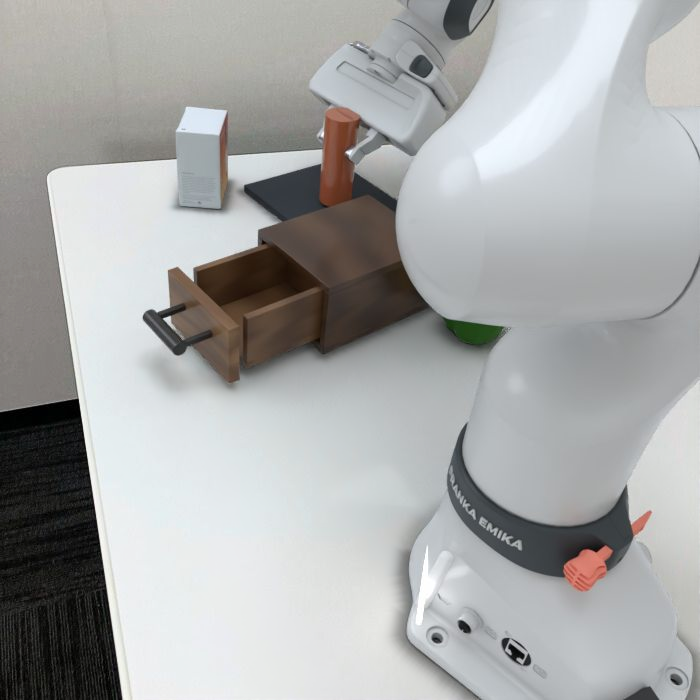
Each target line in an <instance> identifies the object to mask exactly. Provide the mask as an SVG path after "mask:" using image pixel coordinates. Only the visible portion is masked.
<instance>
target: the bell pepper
mask: <svg viewBox="0 0 700 700" xmlns="http://www.w3.org/2000/svg"><path fill="white" fill-rule="evenodd" d="M442 319H443V321H444V323H445V325H446V326H447V328H448V330H449V331H453V332H454V334H455V337H457V338H458V339H459V340H460V341H461V342H464V343H467V344H470V345H474V346H475V345H485V344H487V343H489V342H491V341H493V340H494V339H495V338H497V337H498V336H499V335H500V334H501V333H502V331H503V330H504V328H505V326H494V325H486V324H479V323H472V322H465V321H458V320H451V319H447V318H445V317H443V316H442Z"/></svg>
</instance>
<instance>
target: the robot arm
mask: <svg viewBox="0 0 700 700" xmlns="http://www.w3.org/2000/svg"><path fill="white" fill-rule="evenodd" d="M396 2H397V3H399V4H401V5H402V6H403V8H402V9H401V10H400V12H398V13H397V14H395V15H394V16H393V17H392V18H390V20H389V21H388V23H387V24H386V26H385V27H384V28H383V30H382V31H381V32H380V34H379V35H378V36H377V38H376V39H375V40H374V42H373V43H372V45H370V46H369V45H366V44H365V43H364V42H362V41H360V40H354V42H348V43H345V44H343V45H342V46H341V47H340V48H339V49H338V50H337V51H335V52H334V53H332V55H331V56H330V57H329V58H328V59H327V60H326V61H325V62H324V63H323V64H322V65H321V67H319V68H318V70H317V71H316V72H315V74H313V76H312V77H311V78H310V80H309V85H308V90H309V91H310V93H311V94H312V95H313V96H314V97H315V98H316V99H317V100H318V101H319V102H320V103H322V104H323V105H325V106H326V107H328V108H327V109H326V110H325V112H326V111H327V110H328V109H330V108H334V107H345V108H348V109H350V110H352V111H353V112H355V113H357V114H359V115H360V124H359V127H362V128H363V129H365V130H366V131H367V132H366V133H365V136H366V138H365V139H363V140H362V141H360V142H358V143H357V145H356V146H355V145H354V144H351V145H350V146H349V147H348V150H346V151H345V153H344V156H345V157H346V158H347V159H348V160H349V161H351V162H352V163H354V164H355V166H357V165H359V164H360V163H361V161H362V160H363V159H364V157H365V156H367V155H369V154H371V153H373V152H375V151H377V150H379V149H380V148H381V147H382V146H383V144H384V143H385V142H386V143H388V144H390V145H391V146H393V147H395V148H396V149H398V150H400V151H401V152H403V153H404V154H406V155H408V156H409V157H413V159H412V160H411V162H410V164H409V165H408V168H407V169H406V172H405V174H404V176H403V180H402V183H401V186H400V188H399V191H398V196H397V208H396V236H397V244H398V249H399V252H400V256H401V260H402V263H403V265H404V268H405V270H406V272H407V274H408V276H409V278H410V280H411V282H412V283H413V285H414V286H415V288H416V290H417V291H418V292H419V294H420V295H421V296H422V297H423V299H424V300H425V301H426V302H427V303H428V304H429V305H430V307H431V308H432V309H433V310H434V311H435V312H436V313H437V314H439V315H440V316H441V317H442V318H443V317H445V318H447V319H451V320H458V321H465V322H472V323H479V324H486V325H494V326H504V328H505V327H506V328H510V329H509V330H508V331H507V332H506V333H504V334H503V335H502V337H500V338H499V340H498V341H496V343H495V344H494V346H493V347H492V349H491V350H490V351H489V353H488V355H487V357H486V359H485V361H484V364H483V366H482V369H481V374H480V377H479V382H478V384H477V387H476V392H475V396H474V399H473V403H472V408H471V410H470V413H469V416H468V417H469V418H468V421H467V422H465V424H464V425H463V427H462V428H461V430H460V432H459V434H458V436H457V438H456V439H457V440H456V442H455V446H454V448H453V452H452V455H451V458H450V462H449V465H448V469H447V474H446V490H445V493H444V495H443V498H442V500H441V501H440V503H439V506H438V508H437V509H436V511H435V513H434V515H433V517H432V518H431V519H430V521H429V522H428V523H427V524H426V525H425V527H423V528H422V530H421V531H420V533H419V534H418V535H417V537H416V539H415V541H414V543H413V544H412V548H411V550H410V555H409V561H408V577H409V583H410V584H409V585H410V590H411V595H412V605H411V608H410V611H409V615H408V618H407V623H406V637H407V639H408V641H409V642H410V643H411V644H412V645H413V646H414V647H415V648H416V649H417V650H419V651H420V652H421V653H422V654H424V655H425V656H426V657H428V658H429V659H430V660H431V661H432V662H434V663H435V664H436V665H438V666H439V667H440V668H441V669H443V670H444V671H445V672H446V673H448V674H449V675H450V676H452V677H453V678H454V679H455V680H457V682H458V683H460V684H461V685H463V687H465V688H466V689H467V690H469V691H470V692H472V693H473V694H474V695H475V696H476V697H478V698H479V699H480V700H686V698H687V696H688V694H689V692H690V688H691V685H692V680H693V672H694V662H693V655H692V653H691V652H690V650H689V649H688V647H687V646H686V645H685V644H684V643H683V641H682V640H681V639H680V638H679V637H678V634H677V632H678V628H679V627H678V625H679V622H678V621H679V619H678V610H677V607H676V604H675V602H674V599H672V597H671V595H670V594H669V592H668V590H667V589H666V588H665V586H664V584H663V583H662V582H661V579H660V578H659V576H658V574H657V573H656V572H655V569H654V568H653V566H652V563H653V557H652V554H651V551H650V550H649V548H648V547H647V546H646V544H644V543H643V542H642V541H639V540H637V539H636V538H635V537H636V536H637V535H638V534H639V533H641V532H642V531H643V530H644V528H645V526H646V525H647V523H648V521H649V519H650V518H651V516H652V513H653V511H652V510H647V511H646V512H645V513H644V514H643V515H641V516H639V518H638V519H636V520H635V521H634V522H633V523H631V520H630V504H629V490H628V482H629V480H630V478H631V476H632V474H633V472H634V470H635V469H636V466H637V465H638V463H639V461H640V459H641V457H642V455H643V454H644V452H645V450H646V448H647V446H648V445H649V443H650V442H651V439H652V438H653V436H654V434H655V432H656V431H657V430H658V428H659V427H660V426H661V423H662V422H663V421H664V419H665V418H666V417H667V416H668V415H669V414H670V412H671V411H672V409H674V407H675V406H676V405H677V404H678V403H679V401H680V400H681V399H682V398H683V397H684V396H685V395H686V394H687V393H688V392H689V391H690V390H691V389H692V388H693V387H694V386H695V385H696V384H697V383H698V382H699V381H700V105H675V106H670V105H669V106H654V105H652V102H651V100H650V98H649V96H648V91H647V82H646V76H647V75H646V71H647V60H648V53H649V49H650V48H649V47H650V45H651V44H653V43H654V42H655V41H657V40H658V39H660V38H661V37H663V36H664V35H666V34H667V33H668V32H670V31H671V30H672V29H674V28H675V27H676V26H678V25H679V24H680V23H681V22H682V21H684V20H685V19H686V18H687V17H688V16H689V15H690V14H692V12H693V11H694V9H696V7H697V6H698V5H699V4H700V0H497V15H496V22H495V29H494V33H493V39H492V43H491V46H490V50H489V53H488V56H487V59H486V61H485V64H484V67H483V70H482V72H481V74H480V76H479V78H478V80H477V82H476V84H475V85H474V87H473V89H472V90H471V92H470V94H469V95H468V97H466V100H465V101H464V102H463V103H462V104H461V105H460V106H459V108H458V109H457V110H456V112H454V113H453V114H452V116H451V117H449V119H448V120H447V121H446V117H447V112H449V111H451V110H452V109H454V108H455V106H456V105H457V104H458V102H459V97H458V95H457V93H456V92H455V90H454V88H453V87H452V84H451V83H450V82H449V80H448V79H447V77H446V76H445V74H444V73H443V71H442V70H443V69H444V67H446V64H448V60H449V58H450V55H451V54H452V52H453V51H454V49H455V48H456V47H457V46H459V45H460V44H461V43H462V42H463V41H465V40H466V39H467V38H468V37H469V36H471V35H472V34H473V33H474V32H475V30H477V28H478V26H479V25H480V24H481V23H482V21H483V20H484V19H485V17H486V16H487V14H488V13H489V12H490V10H491V9H492V7H493V5H494V3H495V0H396ZM445 121H446V122H445ZM324 123H325V117H324V119H323V123H322V127H321V129H319V131H318V132H317V134H316V139H317V140H318V141H319V142H320V143H321V144H323V136H324ZM433 639H438V640H439V641H440V643H437V642H434V640H433ZM671 679H672V680H674V681H676V683H677V684H676V683H674V682H673V681H672V680H671Z"/></svg>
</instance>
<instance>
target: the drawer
mask: <svg viewBox="0 0 700 700" xmlns="http://www.w3.org/2000/svg"><path fill="white" fill-rule="evenodd" d="M192 271H193V280H192V279H191V278H190V277H189V276H188V275H187V274H186V272H184V271H183V270H182V269H181V268H180V267H178V266H176V267H173V268H170V269H167V281H168V296H169V307H167V308H165V309H162V310H159V311H156V310H155V309H153V308H152V309H148V310H146V311H145V312H143V314H142V321H143V322H144V323H145V325H146V326H148V328H149V329H150V330H151V331H152V332H153V333H154V334H155V335H156V337H158V339H159V340H160V341H161V342H162V343H163V344H164V345H165V346H166V348H167V349H169V350H170V352H171V353H172V354H173V355H174V356H182V355H183V354H184V353H185V352H186V351H187V349H188V348H189V347H193V348H194V349H195V350H196V351H197V352H198V353H199V354H200V355H201V356H202V357H203V358H204V359H205V360H206V362H207V363H208V364H209V365H210V366H211V367H212V368H213V369H214V370H215V371H216V372H217V373H218V374H219V375H220V376H221V377H222V378H223V379H224V380H225V381H226V382H227V384H228V385H231V384H233V383H235V382H238V381H239V380H240V364H241V365H242V366H244V368H245V369H250V368H252V367H254V366H257V365H260V364H262V363H264V362H266V361H269V360H272V359H273V358H276V357H278V356H280V355H283V354H285V353H287V352H289V351H292V350H294V349H297V348H299V347H301V346H304V345H305V344H308V343H310V342H311V341H313V340H315V339H318V338H320V334H321V323H322V312H323V301H324V290H323V289H322V288H321V287H320V286H318V285H317V284H316V283H315V282H314V281H312V280H311V279H310V278H309V277H307V276H306V275H305V274H304V273H303V272H301V271H300V270H299V269H298V268H297V267H295V266H294V265H293V264H292V263H290V262H289V261H288V260H287V259H286V258H284V257H283V256H282V255H281V254H280V253H278V252H277V251H276V250H275V249H273V248H272V247H271V246H270V245H269V244H267V243H266V244H263V245H260V246H258V245H257V246H255V247H252V248H248V249H245V250H242V251H239V252H236V253H234V254H231V255H227V256H225V257H222V258H218V259H215V260H212V261H210V262H207V263H204V264H200V265H197V266H194V267H193V268H192ZM169 317H170V323H171V325H173V327H174V328H175V329H176V330H177V331H178V332H179V333H180V334H181V335H182V336H183V337H184V339H183V338H182V337H181V336H180V335H179V334H178V333H177V332H176V330H174V329H173V328H172V326H171V325H170V324H168V322H167V321H166V320H165V319H166V318H169Z"/></svg>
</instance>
